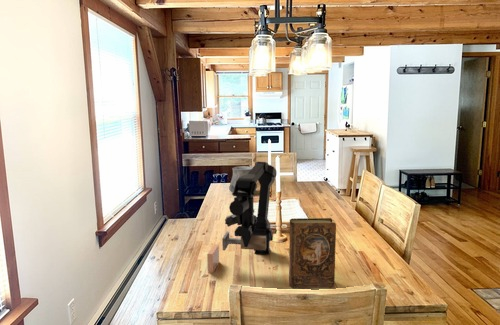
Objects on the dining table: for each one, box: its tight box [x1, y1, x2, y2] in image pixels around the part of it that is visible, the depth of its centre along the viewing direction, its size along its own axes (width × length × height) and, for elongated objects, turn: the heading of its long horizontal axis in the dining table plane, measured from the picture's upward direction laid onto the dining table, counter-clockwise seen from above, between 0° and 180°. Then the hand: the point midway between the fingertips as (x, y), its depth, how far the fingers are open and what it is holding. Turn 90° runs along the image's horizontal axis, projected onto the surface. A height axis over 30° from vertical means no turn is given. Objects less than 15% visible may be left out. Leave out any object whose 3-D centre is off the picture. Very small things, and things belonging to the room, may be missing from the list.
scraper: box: [221, 231, 266, 251], centre depth 151 cm, size 17×8×5 cm, turn 81°
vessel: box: [228, 165, 258, 194], centre depth 277 cm, size 22×22×20 cm
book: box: [288, 217, 337, 289], centre depth 138 cm, size 16×6×25 cm, turn 92°
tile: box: [206, 244, 220, 274], centre depth 154 cm, size 2×10×8 cm, turn 171°
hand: (246, 245), depth 151 cm, fingers closed on scraper, 3 cm apart
